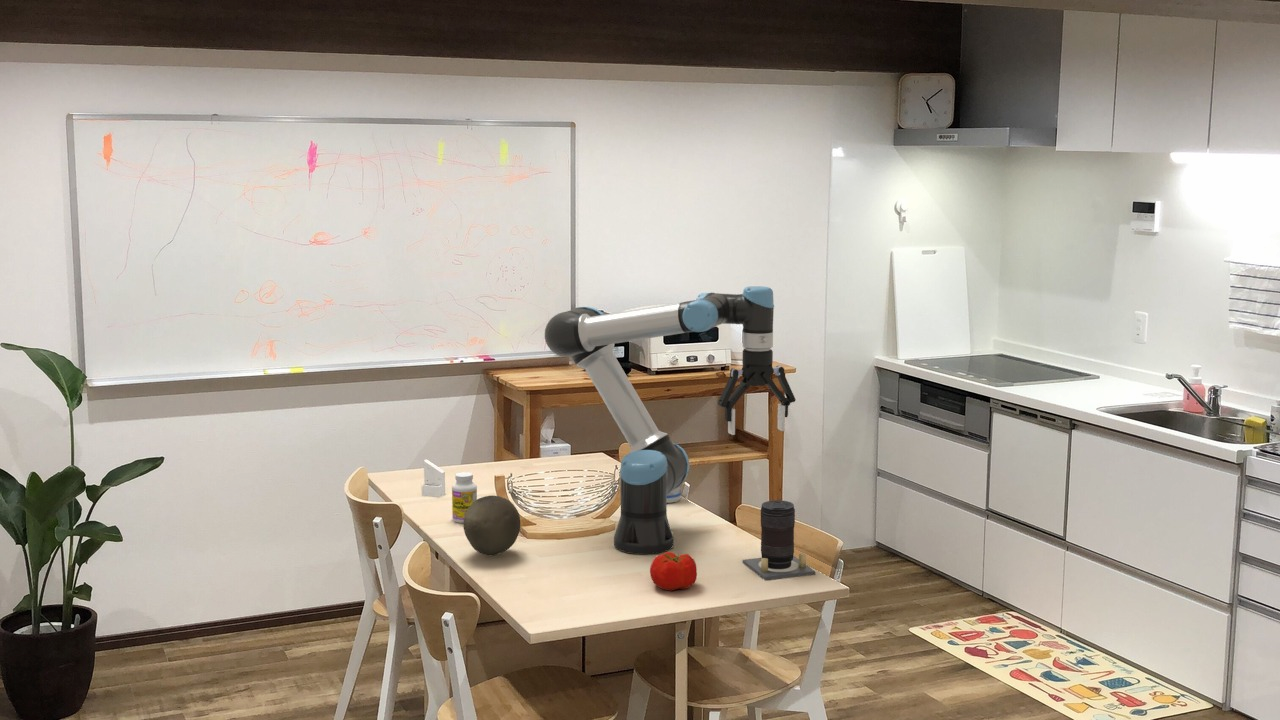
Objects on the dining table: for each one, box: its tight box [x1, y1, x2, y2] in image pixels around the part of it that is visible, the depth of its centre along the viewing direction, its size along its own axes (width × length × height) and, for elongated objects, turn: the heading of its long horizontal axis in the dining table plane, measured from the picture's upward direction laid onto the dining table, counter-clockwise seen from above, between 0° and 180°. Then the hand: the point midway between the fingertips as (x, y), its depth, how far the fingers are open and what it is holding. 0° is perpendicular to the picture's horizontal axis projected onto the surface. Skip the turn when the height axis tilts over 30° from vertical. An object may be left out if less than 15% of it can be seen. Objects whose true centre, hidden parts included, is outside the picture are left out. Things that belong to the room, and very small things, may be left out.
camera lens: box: [760, 499, 796, 569], centre depth 293 cm, size 8×8×15 cm
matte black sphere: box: [462, 495, 521, 557], centre depth 303 cm, size 14×14×15 cm
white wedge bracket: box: [421, 459, 446, 498], centre depth 358 cm, size 4×10×9 cm
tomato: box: [649, 551, 698, 591], centre depth 282 cm, size 11×11×8 cm
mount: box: [742, 553, 816, 581], centre depth 294 cm, size 13×13×4 cm
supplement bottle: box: [451, 471, 478, 524], centre depth 333 cm, size 7×7×13 cm
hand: (756, 432), depth 311 cm, fingers open, 13 cm apart
